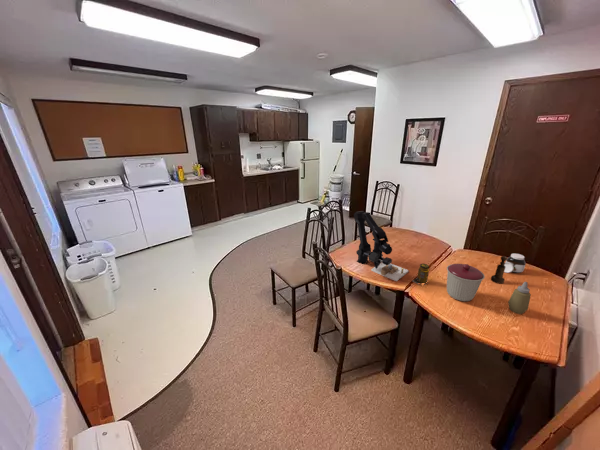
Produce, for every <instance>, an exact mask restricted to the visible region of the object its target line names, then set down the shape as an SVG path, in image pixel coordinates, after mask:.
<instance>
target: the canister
mask: <svg viewBox="0 0 600 450" xmlns="http://www.w3.org/2000/svg"><path fill="white" fill-rule="evenodd" d="M446 270H447V274H446V275H447V276H446V277H447V278H446V292H447V294H448V295H449V296H450V297H451V298H453V299H455V300H456V301H460V302H470V301H472V300H473V299H474V298H475V296H476V294H477V293H478V290H479V288H480V285H481V284H482V282H483V280H484V279H485V277H486V276H485V274H484V273H483V272H482V271H481V270H479V269H478V268H477V267H475V266H472V265H470V264H467V263H464V264H463V263H452V264H449V265H447V266H446Z"/></svg>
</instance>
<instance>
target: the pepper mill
mask: <svg viewBox="0 0 600 450" xmlns="http://www.w3.org/2000/svg"><path fill="white" fill-rule="evenodd" d="M507 258H508V257H507V256H505V255H502V256H501V257H500V262H499V264H497V265H496V266H497V267H496V270H495V273H494V275H491V278H490V281H492V282H493V283H495V284H504V283H505V278H504V277H503V276H504V273H505V272H504V270H505V266H504V264H505V263H506V260H507Z"/></svg>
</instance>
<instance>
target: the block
mask: <svg viewBox="0 0 600 450" xmlns="http://www.w3.org/2000/svg"><path fill="white" fill-rule="evenodd" d="M397 270H398V268H397V267H394V266H392V270H390V269H389V268H388V265H386V266H384V267H383V268H382V270H381V275H380V276H383V275H386V274H387V273H388V272H389V273H392V274H393V273H394V272H395V271H397Z"/></svg>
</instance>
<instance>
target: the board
mask: <svg viewBox="0 0 600 450" xmlns="http://www.w3.org/2000/svg"><path fill="white" fill-rule="evenodd" d="M384 266H386V265H385V264H383V263H382V262H381V263H380V264H379V266H378V268H377V269H376V268H375V266H374V267H373V268H371V272H373V273H374V274H375V273H376V274H378V275H380V276H383V277H385V278H386V279H390V280H392V281H394V282H398V281H399V280H400V279H401V278H403V277H404V276H405V275H406V274H408V273H409V270H408V269H407V268H404V269H403V274H402V273H401V270H402V268H403V267H402V266H398V265H395V264H392V263H390V264H389V265H388V268H389V269H390V270H392V266H394V267H397V268H398V270H397V271H395V272H394V273H393V274H392V273H389V272H388V273H387V274H386V275H381V270H382V268H383V267H384Z"/></svg>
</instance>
